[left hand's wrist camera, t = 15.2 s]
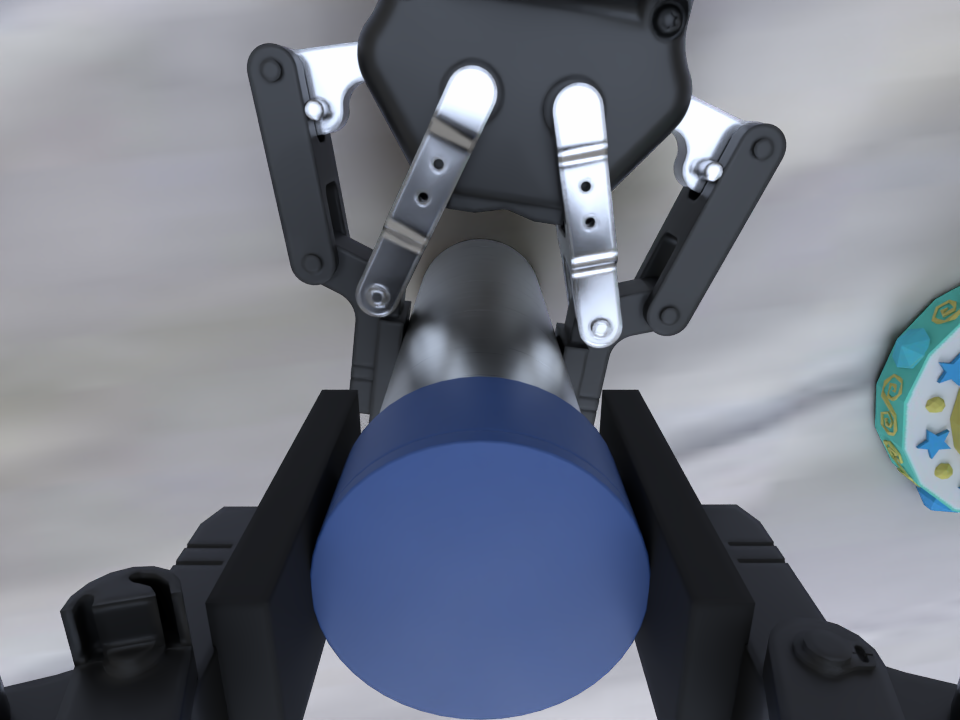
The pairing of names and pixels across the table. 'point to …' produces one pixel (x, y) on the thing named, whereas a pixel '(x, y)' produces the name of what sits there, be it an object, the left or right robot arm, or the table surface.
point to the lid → (480, 552)
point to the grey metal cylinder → (480, 324)
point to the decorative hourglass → (925, 403)
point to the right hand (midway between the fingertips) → (468, 432)
